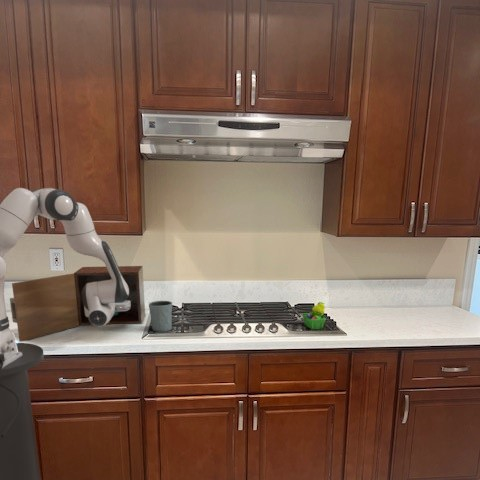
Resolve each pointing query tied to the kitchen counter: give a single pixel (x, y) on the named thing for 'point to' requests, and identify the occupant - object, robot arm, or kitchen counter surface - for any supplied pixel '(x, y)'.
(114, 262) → the robot arm
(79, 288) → the cupboard
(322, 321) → the fruit basket
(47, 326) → the cupboard door
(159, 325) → the grey mug
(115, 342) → the kitchen counter surface
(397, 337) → the kitchen counter surface
